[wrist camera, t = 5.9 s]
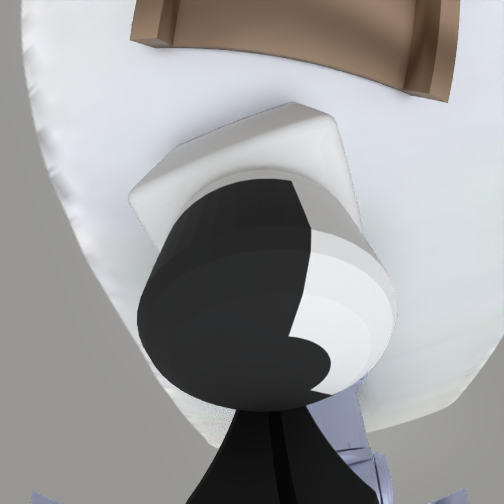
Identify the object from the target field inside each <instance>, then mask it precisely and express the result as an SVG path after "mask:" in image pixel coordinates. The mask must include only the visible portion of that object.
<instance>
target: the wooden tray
mask: <svg viewBox="0 0 504 504" xmlns="http://www.w3.org/2000/svg"><path fill="white" fill-rule="evenodd" d="M459 14H460V0H137V1H136V6H135V11H134V17H133V22H132V28H131V35H130V40H131V41H134V42H138V43H141V44H144V45H147V46H150V47H153V48H202V49H219V50H231V51H241V52H249V53H257V54H264V55H271V56H277V57H282V58H288V59H293V60H298V61H303V62H307V63H312V64H316V65H320V66H324V67H328V68H332V69H336V70H340V71H343V72H347V73H350V74H353V75H357V76H360V77H363V78H366V79H369V80H372V81H375V82H378V83H381V84H383V85H386V86H389V87H392V88H394V89H397V90H399V91H402V92H404V93H407V94H409V95H412V96H417V97H422V98H427V99H432V100H437V101H441V102H446V103H448V100H449V95H450V89H451V84H452V78H453V72H454V65H455V58H456V50H457V41H458V30H459Z"/></svg>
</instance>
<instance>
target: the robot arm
mask: <svg viewBox="0 0 504 504" xmlns="http://www.w3.org/2000/svg"><path fill="white" fill-rule="evenodd" d="M367 375H368V373H366V374H365V375H364V376H363V377H364V378H362V379H359V380H358V381H357V382H355V383H354V384H352V385H351V386H349V387H348V388H346V389H344V390H343V391H341V392H339V393H337V394H335V395H333V396H331V397H328V398H326V399H323V400H321V401H318V402H315V403H313V404H310V405H306V406H303V407H299V408H294V409H289V410H282V411H271V412H254V411H243V410H236V412H235V415H234V417H233V420H232V422H231V425H230V427H229V429H228V432H227V434H226V436H225V438H224V440H223V442H222V444H221V446H220V448H219V451H218V452H217V454H216V456H215V458H214V460H213V462H212V463H211V465H210V467H209V468H208V470H207V471H206V473H205V475H204V476H203V478H202V480H201V482H200V483H199V484H198V486H197V487H196V489H195V490H194V492H193V493H192V494H191V496H190V497H189V499H188V500H187V502H186V504H393V500H394V495H393V487H392V481H391V476H390V472H389V467H388V463H387V460H386V457H385V455H383V454H380V452H376V453H374V454H373V455H374V461H375V462H373V457H372V452H371V448H370V447H369V444H368V439H367V435H366V431H365V426H364V422H363V418H362V414H361V409H360V405H359V401H358V397H357V394H356V389H357V388H358V387H359V386H360V384H361V383H362V382H363V381H364V379H365V378H366V377H367ZM374 463H375V466H374ZM375 469H376V471H375ZM379 491H380V492H379ZM30 504H64V503H61V502H59V501H56V500H54V499H50V498H47V497H45V496H43V495H41V494H39V493H36V492H32V496H31V501H30ZM427 504H469V503H468V498H467V494H466V490H465V488H462V489H459V490H457V491H455V492H453V493H451V494H449V495H447V496H444V497H441V498H439V499H436V500H434V501H431V502H429V503H427Z"/></svg>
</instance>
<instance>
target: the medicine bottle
mask: <svg viewBox="0 0 504 504" xmlns="http://www.w3.org/2000/svg"><path fill="white" fill-rule="evenodd" d="M128 201H129V204H130V206H131V208H132V210H133V211H134V213H135V215H136V216H137V218H138V220H139V222H140V223H141V225H142V227H143V228H144V230H145V232H146V233H147V235H148V237H149V238H150V240H151V242H152V243H153V245H154V246H155V248H156V250H157V251H158V253H159V256H158V258H157V261H156V263H155V265H154V267H153V270H152V272H151V274H150V277H149V279H148V281H147V284H146V286H145V289H144V291H143V293H142V296H141V299H140V303H139V307H138V311H137V326H138V332H139V337H140V339H141V342H142V344H143V347H144V349H145V350H146V352H147V354H148V355H149V357H150V359H151V360H152V362H153V364H154V365H155V367H156V368H157V369H158V371H159V372H160V373H161V374H162V375H163V376H164V377H165V378H166V379H167V380H168V381H169V382H171V383H172V384H173V385H175V386H176V387H177V388H179V389H180V390H182V391H184V392H185V393H187V394H189V395H191V396H193V397H195V398H198V399H200V400H202V401H205V402H208V403H211V404H214V405H218V406H222V407H226V408H231V409H236V410H243V411H254V412H271V411H282V410H289V409H294V408H299V407H303V406H306V405H310V404H313V403H315V402H318V401H321V400H323V399H326V398H328V397H331V396H333V395H335V394H337V393H339V392H341V391H343V390H344V389H346V388H348V387H349V386H351V385H352V384H354V383H355V382H357V381H358V380H359V379H361V378H362V377H363V376H364V375H365V374H366V373H367V372H368V371H369V370H371V369H372V368H373V366H374V365H375V364H376V363H377V361H378V360H379V359H380V357H381V356H382V354H383V353H384V351H385V349H386V347H387V345H388V342H389V340H390V338H391V335H392V333H393V330H394V328H395V323H396V319H397V297H396V292H395V289H394V286H393V284H392V281H391V279H390V277H389V275H388V274H387V272H386V270H385V269H384V267H383V265H382V264H381V262H380V260H379V259H378V257H377V256H376V254H375V253H374V251H373V249H372V248H371V246H370V245H369V243H368V242H367V240H366V239H365V237H364V233H363V228H362V223H361V218H360V213H359V208H358V203H357V199H356V194H355V190H354V186H353V181H352V177H351V173H350V169H349V165H348V162H347V158H346V154H345V150H344V147H343V143H342V140H341V136H340V133H339V129H338V126H337V123H336V121H335V119H334V118H333V117H332V116H331V115H329V114H327V113H324V112H321V111H319V110H316V109H313V108H310V107H307V106H304V105H301V104H298V103H295V102H291V103H288V104H285V105H282V106H279V107H276V108H273V109H270V110H267V111H264V112H261V113H258V114H255V115H253V116H250V117H247V118H244V119H242V120H239V121H236V122H234V123H231V124H229V125H226V126H224V127H221V128H219V129H216V130H214V131H212V132H209V133H207V134H204V135H202V136H200V137H198V138H195V139H193V140H191V141H189V142H186V143H184V144H182V145H180V146H178V147H176V148H175V149H173V150H172V151H171V152H170V153H169V154H168V155H167V156H166V157H165V158H164V159H163V160H162V161H160V162H159V163H158V164H157V165H156V166H155V167H154V168H153V169H152V170H151V171H150V172H149V173H148V174H147V175H146V176H145V177H144V178H143V179H142V180H141V181H140V182H139V183H138V184H137V185H136V186H135V187H134V188H133V189H132V190H131V191H130V193H129V197H128Z"/></svg>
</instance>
